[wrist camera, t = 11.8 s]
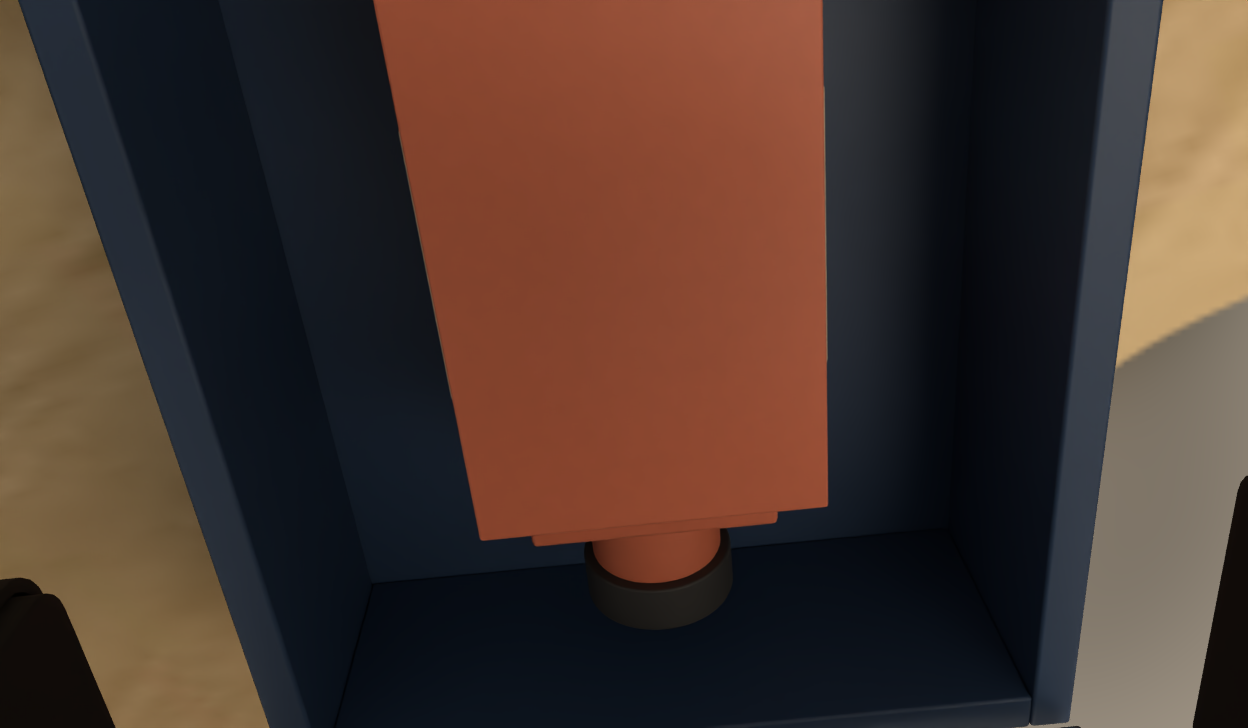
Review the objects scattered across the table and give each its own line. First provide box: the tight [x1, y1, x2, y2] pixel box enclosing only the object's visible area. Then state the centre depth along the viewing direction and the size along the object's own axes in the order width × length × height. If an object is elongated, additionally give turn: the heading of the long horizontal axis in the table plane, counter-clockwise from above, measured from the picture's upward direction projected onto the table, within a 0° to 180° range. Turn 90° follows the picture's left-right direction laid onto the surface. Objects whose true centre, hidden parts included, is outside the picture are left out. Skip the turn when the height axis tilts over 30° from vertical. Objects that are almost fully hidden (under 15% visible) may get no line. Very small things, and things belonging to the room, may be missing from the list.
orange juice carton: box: [373, 0, 828, 630], centre depth 19 cm, size 13×6×6 cm, turn 6°
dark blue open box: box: [18, 0, 1163, 728], centre depth 20 cm, size 19×16×6 cm
